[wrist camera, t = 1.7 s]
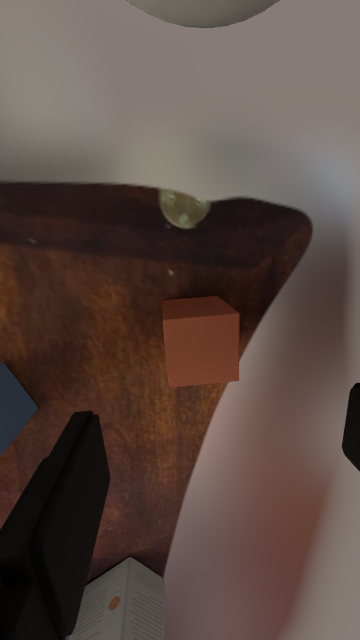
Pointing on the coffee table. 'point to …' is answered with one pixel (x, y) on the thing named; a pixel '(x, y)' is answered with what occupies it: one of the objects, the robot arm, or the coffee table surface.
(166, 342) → the terracotta block
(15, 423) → the blue block
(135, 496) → the coffee table surface
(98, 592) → the small box
